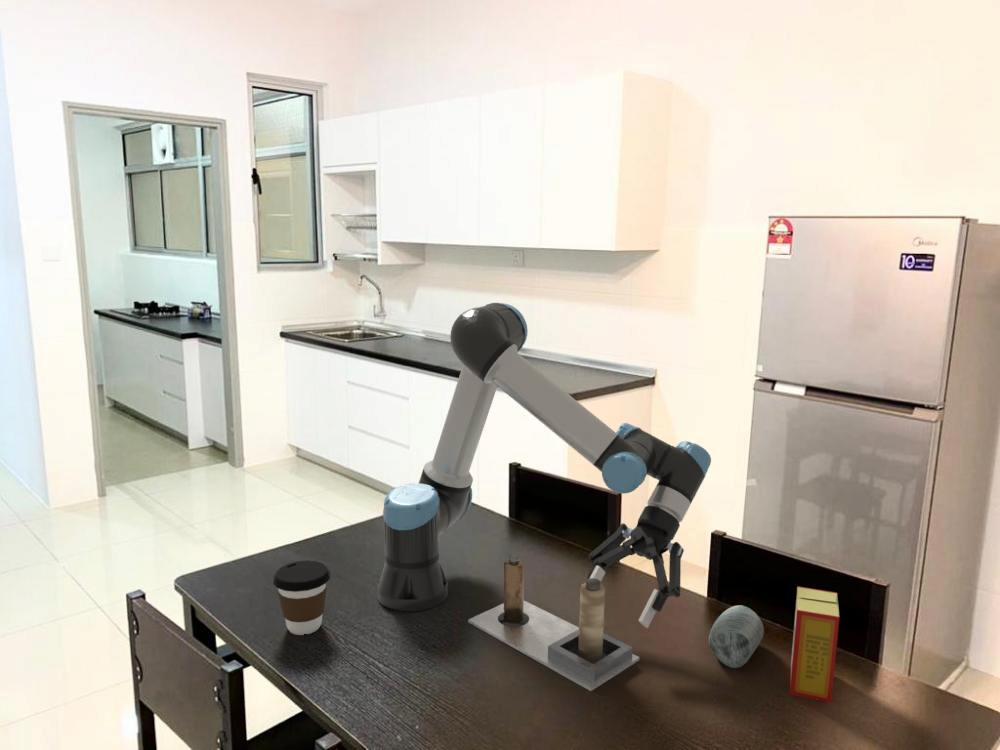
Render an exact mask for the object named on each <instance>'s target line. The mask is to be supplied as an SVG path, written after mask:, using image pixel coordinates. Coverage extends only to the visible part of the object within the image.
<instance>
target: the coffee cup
mask: <svg viewBox="0 0 1000 750" xmlns="http://www.w3.org/2000/svg"><path fill="white" fill-rule="evenodd" d="M330 572H331V571H330V570H329V568H328V566H327V565H325V564H324V563H322V562H320V561H316V560H298V561H294V562H290V563H287V564H285V565H283V566H281V567H279V568H278V570H277V571H276V572H275V574H274V576H273V579H272V580H273V581H272V582H273V585H274V586H275V587H276V588H277V593H278V598H279V602H280V607H281V612H282V616H283V618H284V620H285V625H286V628H287V630H288V631H289V632H290V634H293V635H297V636H304V634H307V635H309V634H312V633H314V632H317V631H318V630H319V628H320V627H321V625H322V622H323V613H324V612H325V604H326V597H327V596H326V595H327V586H328V585H327V583H328V581H329V580H330V579H331V573H330Z"/></svg>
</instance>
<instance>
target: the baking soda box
mask: <svg viewBox="0 0 1000 750" xmlns="http://www.w3.org/2000/svg"><path fill="white" fill-rule="evenodd" d="M838 598H839V597H838V592H835V591H828V590H823V589H816V588H812V587H811V588H810V587H806V586H805V587H803V586H797V587H796V600H795V612H794V623H793V624H794V625H793V633H792V634H793V636H792V647H791V659H790V675H791V676H790V680H789V681H790V682H789V683H790V684H789V685H790V686H789V695H791V694H793V695H792V696H795V695H798V696H797V697H800V696H803V697H802V698H805V697H807V698H806V699H810V698H813V699H812V700H814V699H818V700H817V701H819V700H821V701H820V702H824V701H827V702H826V703H829V702H831V703H832V698H833V697H832V696H833V687H834V677H835V667H836V657H837V655H836V654H837V647H838V646H837V645H838V636H839V624H840V609H839V600H838Z"/></svg>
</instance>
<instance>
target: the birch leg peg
mask: <svg viewBox="0 0 1000 750" xmlns="http://www.w3.org/2000/svg"><path fill="white" fill-rule="evenodd" d="M579 594H580V597H579V618H578V619H579V622H578V625H579V626H578V627H579V646H578V656H579V657H581V658H583V659H585V660H586V661H588V662H590V663H592V664H594V663H596V662H598V661H599V660H601V659H602V650H603V633H604V625H605V623H604V620H605V598H606V586H605V585H603V584H601V582H600V581H599V580H598V579H595V578H590V579H587V578H586V580H585V582H584V583H582V584H581V585H580V593H579Z"/></svg>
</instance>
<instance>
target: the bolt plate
mask: <svg viewBox="0 0 1000 750" xmlns="http://www.w3.org/2000/svg"><path fill="white" fill-rule="evenodd" d="M524 582H525V563H524V561H523V560H521V559H520V555H519V554H518V553H511V554H509V556H508V559H507V560H505V561H504V562H503V603H501V604H499V605H497V606H495V607H493V608H490V609H489V610H486V611H483V612H481V613H479V614H477V615H475V616H473V617H471V618H469V619H468V620H467V623H468V624H469V625H471V626H473V627H475V628H477V629H479V630H481V631H482V632H484V633H485V634H487V635H489V636H491V637H493V638H495V639H496V640H498V641H500V642H501V643H504V644H506V645H508V646H509V647H511V648H513V649H515V650H517V651H518V652H520V653H522V654H523V655H526V656H527V657H529V658H531V659H532V660H534V661H536V662H537V663H539V664H541V665H543V666H545V667H547V668H548V669H551V670H552V671H553V672H556V673H557V674H559V675H561V676H563V678H566V679H568V680H570V681H571V682H574V683H575V684H577V685H579V686H580V687H582V688H584V689H585V690H588V691H589V692H592V691H593V690H595V689H597V688H598V687H599V686H601V685H603V684H604V683H606V682H607V681H609V680H611V679H613V678H614V677H616V676H617V675H618V674H621V673H622V672H623V671H625V670H626V669H628V668H630V667H631V666H632V665H634V664H636V663H638V662H639V661H640V656H638V655H636V654H633V650H634V648H633V646H631V645H628V644H627V643H625V642H622V641H620V640H618V639H616V638H614V637H613V636H610V635H608V634H606V633H604V632H603V650H602V659H601V660H599V661H598V662H596V663H594V664H592V663H590V662H588V661H586V660H585V659H583V658H581V657H579V656H578V646H579V626H577V625H574V624H573V623H570V622H569V621H566V620H564V619H562V618H560V617H558V616H556V615H554V614H552V613H550V612H548V611H546V610H545V609H542V608H540V607H538V606H536V605H534V604H532V603H531V602H528V601H526V600H525V597H524V594H525V593H524V591H525V590H524V589H525V588H524V587H525V583H524Z"/></svg>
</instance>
